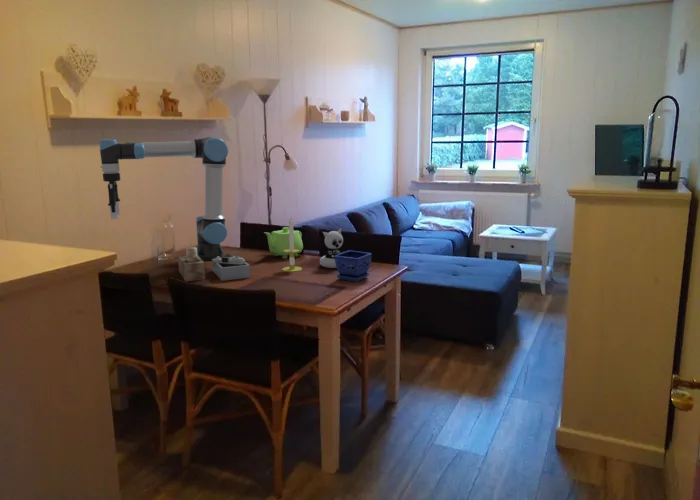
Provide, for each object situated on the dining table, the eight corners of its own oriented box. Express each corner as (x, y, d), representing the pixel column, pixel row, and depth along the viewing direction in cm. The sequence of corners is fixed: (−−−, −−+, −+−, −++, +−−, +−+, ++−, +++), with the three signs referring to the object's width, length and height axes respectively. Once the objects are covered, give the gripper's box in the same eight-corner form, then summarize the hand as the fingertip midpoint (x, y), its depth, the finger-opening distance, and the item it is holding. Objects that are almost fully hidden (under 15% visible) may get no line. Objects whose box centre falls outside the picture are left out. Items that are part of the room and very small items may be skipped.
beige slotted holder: (197, 269, 278) (196, 253, 276) (205, 279, 260) (204, 261, 258) (178, 271, 274) (177, 255, 272) (185, 281, 256) (184, 263, 255)
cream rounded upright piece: (196, 262, 265) (195, 246, 264) (198, 264, 261) (197, 248, 259) (186, 263, 263) (185, 247, 262) (187, 265, 259) (186, 249, 257)
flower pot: (358, 284, 252) (358, 258, 249) (333, 279, 259) (333, 254, 256) (372, 277, 263) (372, 252, 260) (348, 273, 270) (348, 249, 267)
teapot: (287, 249, 325) (286, 222, 322) (310, 255, 310) (310, 227, 306) (251, 255, 309) (250, 227, 305) (273, 262, 293) (272, 232, 290)
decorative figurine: (324, 270, 276) (323, 230, 272) (316, 263, 290) (315, 226, 286) (352, 267, 281) (352, 229, 277) (343, 261, 295) (343, 224, 290)
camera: (251, 272, 272) (250, 252, 269) (243, 276, 263) (242, 256, 261) (222, 270, 276) (221, 250, 274) (213, 274, 268) (212, 254, 266)
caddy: (239, 267, 281) (238, 256, 280) (250, 277, 263) (249, 265, 262) (212, 270, 275) (211, 259, 274) (221, 280, 257) (220, 268, 256)
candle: (305, 268, 280) (304, 215, 275) (295, 272, 272) (294, 218, 266) (288, 266, 285) (287, 214, 279) (278, 270, 276) (276, 216, 270)
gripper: (105, 171, 273) (109, 213, 278) (99, 174, 250) (104, 221, 254) (121, 170, 275) (126, 212, 280) (117, 174, 252) (122, 220, 257)
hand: (115, 217), depth 267 cm, fingers open, 13 cm apart
